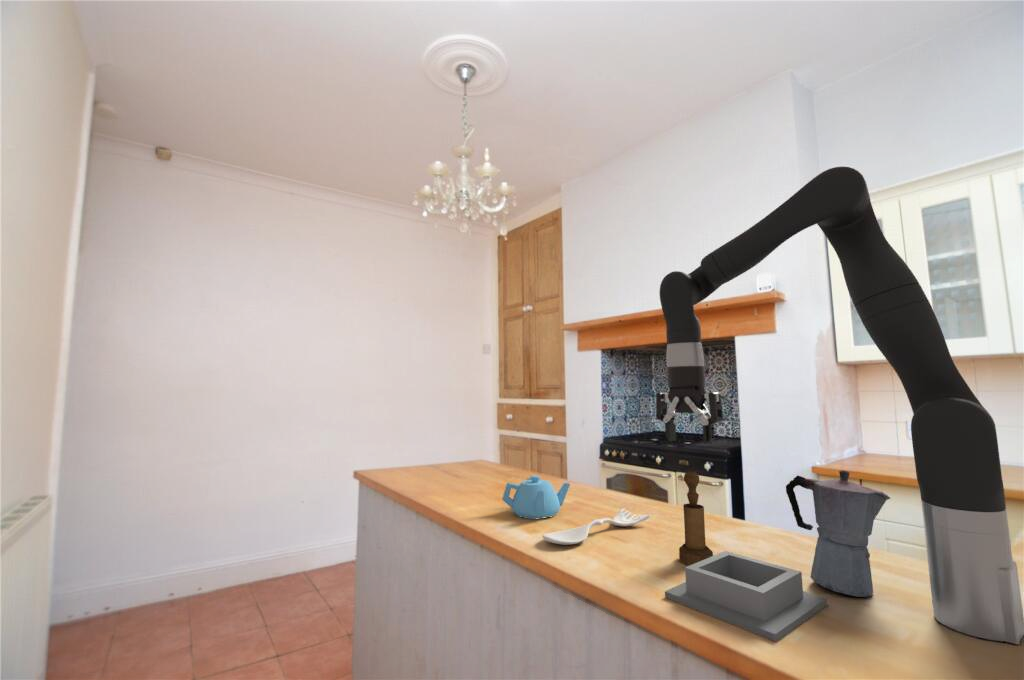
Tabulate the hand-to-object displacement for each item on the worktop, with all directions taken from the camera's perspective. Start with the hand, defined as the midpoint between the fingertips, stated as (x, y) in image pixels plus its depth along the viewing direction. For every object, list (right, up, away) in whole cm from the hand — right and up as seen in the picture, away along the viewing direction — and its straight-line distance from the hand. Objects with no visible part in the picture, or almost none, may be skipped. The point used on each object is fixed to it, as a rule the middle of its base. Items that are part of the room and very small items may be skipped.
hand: (689, 442), depth 98 cm
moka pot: (+20, -22, -16) cm, 34 cm away
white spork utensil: (-17, -27, +17) cm, 36 cm away
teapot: (-30, -29, +37) cm, 56 cm away
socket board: (+1, -22, -20) cm, 30 cm away
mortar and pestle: (0, -24, -3) cm, 24 cm away
